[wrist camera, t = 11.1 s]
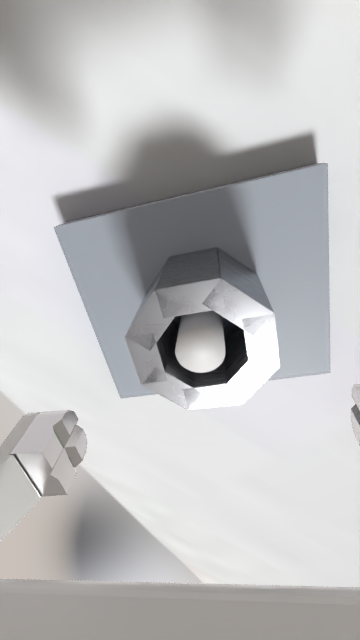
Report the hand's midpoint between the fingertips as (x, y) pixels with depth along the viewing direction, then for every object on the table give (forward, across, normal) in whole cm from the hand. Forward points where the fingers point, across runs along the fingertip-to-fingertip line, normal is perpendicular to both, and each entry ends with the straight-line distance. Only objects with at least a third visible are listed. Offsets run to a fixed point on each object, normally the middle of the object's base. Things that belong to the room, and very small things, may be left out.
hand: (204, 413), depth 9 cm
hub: (+10, 0, +1) cm, 10 cm away
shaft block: (+11, +1, +1) cm, 11 cm away
